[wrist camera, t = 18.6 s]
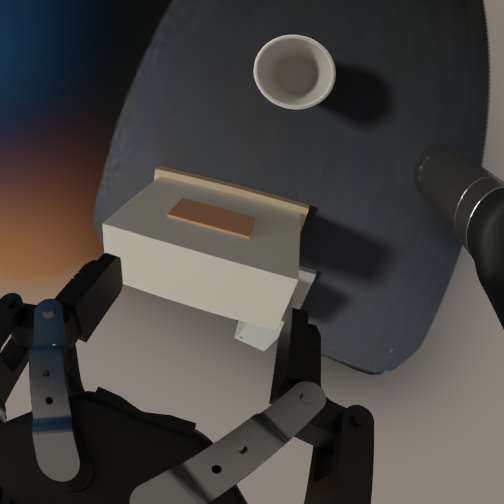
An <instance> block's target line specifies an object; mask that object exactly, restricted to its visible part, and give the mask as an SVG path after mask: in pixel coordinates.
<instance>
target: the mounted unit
mask: <svg viewBox="0 0 504 504" xmlns="http://www.w3.org/2000/svg"><path fill="white" fill-rule="evenodd" d="M308 211H309V205H308V204H304V203H301V202H298V201H294V200H291V199H288V198H284V197H281V196H277V195H274V194H270V193H266V192H263V191H259V190H256V189H252V188H248V187H245V186H241V185H237V184H233V183H229V182H225V181H221V180H218V179H214V178H209V177H205V176H201V175H197V174H193V173H189V172H184V171H180V170H176V169H171V168H167V167H162V166H159V167H157V168H156V169H155V177H154V181H153V182H152V183H151V184H149V185H148V186H147V187H146V188H144V189H143V190H142V191H140V192H139V193H138V194H137V195H136V196H134V197H133V198H132V199H131V200H129V201H128V202H127V203H126V204H125V205H123V206H122V207H121V208H120V209H119V210H117V211H116V212H115V213H114V214H113V215H112V216H111V217H109V218H108V219H107V220H106V221H105V222H104V223H103V240H104V253H109V254H112V255H115V256H118V257H120V259H121V266H122V279H123V284H126V285H129V286H131V287H134V288H137V289H140V290H142V291H146V292H148V293H151V294H154V295H157V296H160V297H163V298H166V299H170V300H173V301H176V302H179V303H182V304H185V305H188V306H191V307H195V308H198V309H201V310H205V311H208V312H211V313H214V314H218V315H221V316H225V317H228V318H232V319H235V320H239V321H242V322H246V323H250V324H253V325H257V326H261V327H265V328H269V329H272V330H277V328H278V326H279V324H280V321H281V319H282V317H283V315H284V312H285V310H286V308H287V305H288V303H289V301H290V298H291V296H292V294H293V291H294V289H295V287H296V284H297V282H298V277H299V252H300V233H301V230H302V227H303V225H304V222H305V219H306V216H307V213H308Z"/></svg>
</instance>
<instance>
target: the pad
mask: <svg viewBox="0 0 504 504" xmlns="http://www.w3.org/2000/svg"><path fill="white" fill-rule="evenodd" d="M315 276H316V270H313V269H310V268H306V267H302V266H299V277H298V282H297V284H296V287H295V289H294V291H293V303H292V308H296V309H300V308H301V306H302V304H303V302H304V300H305V298H306V295H307V293H308V291H309V289H310V287H311V285H312V282H313V280H314V278H315Z"/></svg>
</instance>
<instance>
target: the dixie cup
mask: <svg viewBox="0 0 504 504" xmlns="http://www.w3.org/2000/svg"><path fill="white" fill-rule="evenodd" d="M254 77H255V81H256V84H257V86H258V88H259V90H260V91H261V92H262V94H263V95H264V96H265V97H266V98H267V99H268V100H270V101H271V102H273V103H274V104H276V105H278V106H281V107H284V108H288V109H306V108H309V107H312V106H315V105H317V104H318V103H320V102H321V101H323V100H324V99H325V98H326V97H327V96H328V95H329V93H330V92H331V90H332V88H333V86H334V83H335V77H336V70H335V65H334V62H333V59H332V57H331V55H330V54H329V52H328V51H327V50H326V49H325V48H324V47H323V46H322V45H321V44H320V43H318V42H317V41H315V40H313V39H311V38H308V37H305V36H301V35H285V36H281V37H278V38H275V39H273V40H271V41H270V42H268V43H267V44H266V45H265V46H264V47H263V48H262V49H261V50H260V52H259V53H258V55H257V57H256V60H255V64H254Z"/></svg>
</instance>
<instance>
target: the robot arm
mask: <svg viewBox="0 0 504 504" xmlns="http://www.w3.org/2000/svg"><path fill="white" fill-rule="evenodd" d="M415 183H416V186H417V188H418V190H419V192H420V193H421V195H422V196H423V197H424V198H425V199H426V200H427V201H428V203H429V204H430V205H431V206H432V207H433V208H434V210H435V211H436V212H437V213H438V214H439V215H440V217H441V218H442V219H443V220H444V221H445V223H446V224H447V225H448V226H449V228H450V229H451V230H452V231H453V233H454V234H455V235H456V236H457V238H458V239H459V240H460V241H461V243H462V244H463V245H464V247H465V248H466V249H467V251H468V252H469V253H470V255H471V256H472V258H473V259H474V261H475V266H476V271H477V275H478V278H479V280H480V283H481V285H482V287H483V289H484V290H485V292H486V294H487V296H488V298H489V300H490V302H491V304H492V306H493V308H494V310H495V312H496V314H497V317H498V319H499V321H500V323H501V325H502V327H503V329H504V181H503V180H501V179H499V178H498V177H496V176H495V175H493V174H492V173H491V172H489V171H487V170H486V169H484V168H483V167H481V166H480V165H478V164H476V163H475V162H473V161H472V160H470V159H468V158H467V157H465V156H463V155H462V154H460V153H458V152H456V151H455V150H453V149H451V148H449V147H446V146H435V147H432V148H430V149H428V150H427V151H426V152H424V153H423V155H422V156H421V157H420V158H419V160H418V162H417V165H416V168H415ZM122 284H123V279H122V266H121V259H120V257H118V256H115V255H112V254H109V253H104V254H103V255H102V256H101V257H100V258H99V259H98V260H97V261H95V260H93V261H91V262H89V263H87V264H85V265H84V266H83V267H82V268H81V269H80V271H79V272H78V273H77V274H76V275H75V276H74V277H73V279H71V280H70V281H69V283H68V284H67V285H66V286H65V287H64V288H63V289H62V291H61V292H60V293H59V294H58V295H57V296H56V298H55V299H45V300H43V301H41V302H40V303H39V304H38V305H32V304H26V303H23V301H22V299H21V297H20V295H18V294H16V293H9V294H7V295H5V296H3V297H2V298H1V299H0V350H1V347H2V346H3V344H4V343H5V341H6V340H7V338H8V337H9V335H10V334H11V336H12V337H11V338H10V340H9V341H8V343H7V344H6V346H5V347H4V349H3V350H2V352H1V353H0V504H247V502H246V500H245V498H244V497H243V495H242V493H241V491H240V490H239V488H238V486H237V483H238V482H240V481H241V480H242V479H244V478H245V477H246V476H248V475H249V474H250V473H252V472H253V471H254V470H255V469H257V468H258V467H259V466H260V465H261V464H263V463H264V462H265V461H266V460H267V459H269V458H270V457H271V456H272V455H273V454H275V453H276V452H277V451H278V450H279V449H280V448H281V447H283V446H284V445H285V444H286V443H287V442H288V441H289V440H290V439H292V437H296V438H298V439H300V440H303V441H305V442H307V443H309V444H311V445H313V453H312V460H311V466H310V473H309V479H308V485H307V491H306V496H305V502H304V504H371V493H372V479H373V459H374V457H373V456H374V419H373V416H372V414H371V412H370V411H369V410H368V409H367V408H365V407H363V406H360V405H352V406H350V407H348V408H345V407H343V406H341V405H338V404H336V403H334V402H332V401H330V400H329V399H328V398H327V397H326V396H325V393H324V391H323V390H322V389H321V355H320V354H321V347H320V346H321V335H320V333H319V331H318V329H317V326H316V325H312V324H308V311H304V310H300V309H296V308H291V309H290V311H289V313H288V315H287V318H286V320H285V322H284V324H283V327H282V329H281V332H280V335H279V339H278V345H277V352H276V360H275V368H274V375H273V382H272V389H271V396H270V402H269V404H272V405H271V406H269V407H268V408H267V409H265V410H264V411H263V412H261V413H260V414H255V415H254V416H252V417H251V418H249V419H248V420H247V421H245V422H244V423H242V424H241V425H240V426H239V427H237V428H236V429H234V430H233V431H231V432H230V433H229V434H227V435H226V436H224V437H223V438H221V439H220V440H218V441H217V442H215V443H214V444H213V442H212V441H211V440H210V439H209V438H207V437H206V436H205V435H204V434H202V433H201V432H199V431H198V430H196V429H195V426H196V423H193V422H190V421H187V420H183V419H180V418H177V417H174V416H171V415H163V414H154V413H147V412H142V411H140V410H139V409H137V408H136V407H135V406H133V405H132V404H130V403H129V402H127V401H126V400H125V399H123V398H122V397H120V396H119V395H116V394H114V393H112V392H109V391H107V390H105V389H103V388H100V387H98V388H97V390H96V392H91V391H86V392H85V391H84V388H83V385H82V382H81V378H80V371H79V365H78V358H77V350H76V345H75V343H76V342H77V340H78V339H80V340H82V341H84V342H87V341H88V339H89V338H90V336H91V334H92V333H93V331H94V330H95V328H96V327H97V325H98V324H99V322H100V321H101V320H102V318H103V317H104V315H105V314H106V312H107V311H108V309H109V308H110V306H111V305H112V304H113V302H114V301H115V299H116V298H117V297H118V295H119V293H120V292H121V289H122ZM28 361H29V379H30V393H31V404H32V411H31V412H29V413H26V414H24V415H21V416H19V417H17V418H14V419H11V420H9V421H6V420H7V416H6V407H5V403H6V401H7V399H8V397H9V395H10V393H11V391H12V389H13V388H14V385H15V384H16V382H17V380H18V379H19V377H20V375H21V373H22V371H23V370H24V368H25V366H26V365H27V363H28Z"/></svg>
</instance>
